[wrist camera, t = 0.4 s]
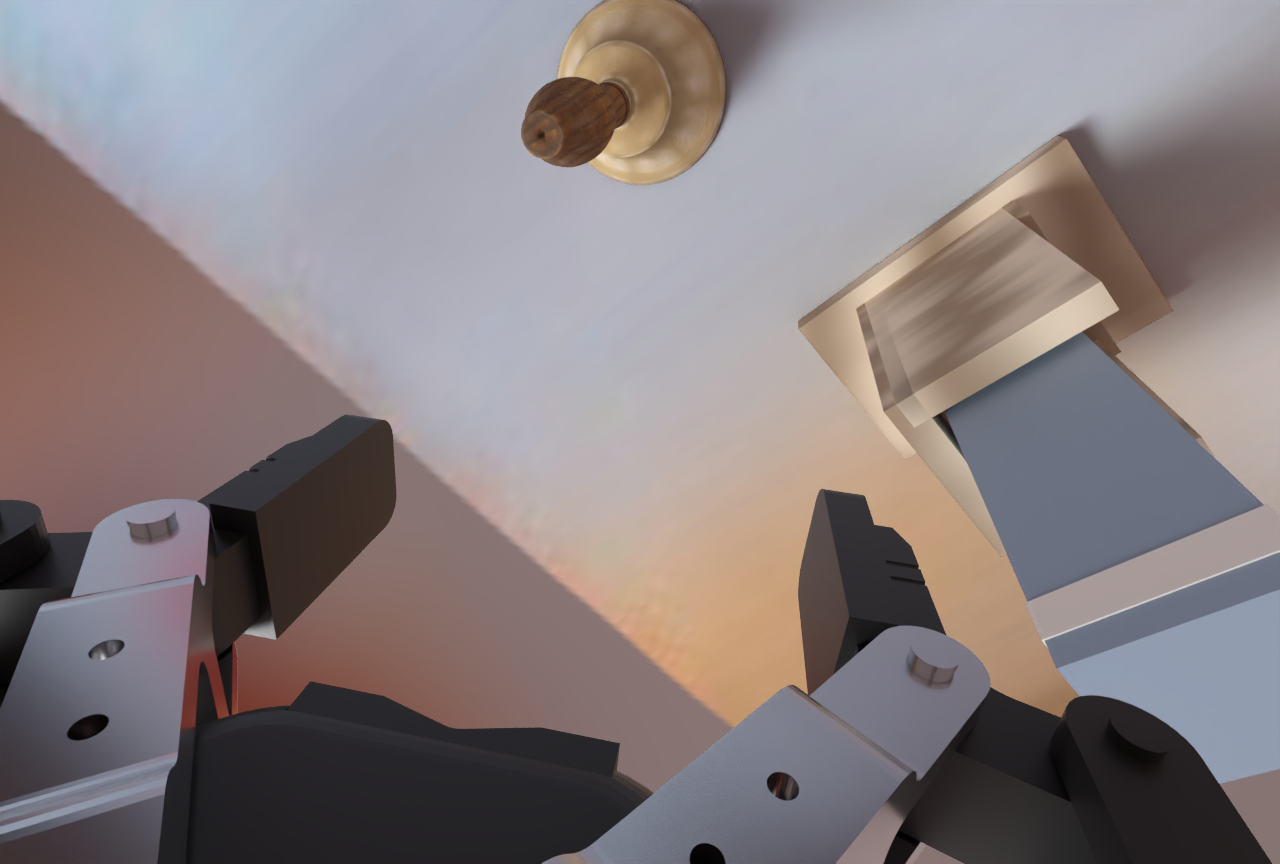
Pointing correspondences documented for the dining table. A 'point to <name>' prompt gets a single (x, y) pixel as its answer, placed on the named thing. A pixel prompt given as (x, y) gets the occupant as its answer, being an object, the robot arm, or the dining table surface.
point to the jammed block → (1133, 551)
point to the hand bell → (631, 94)
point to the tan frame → (986, 308)
